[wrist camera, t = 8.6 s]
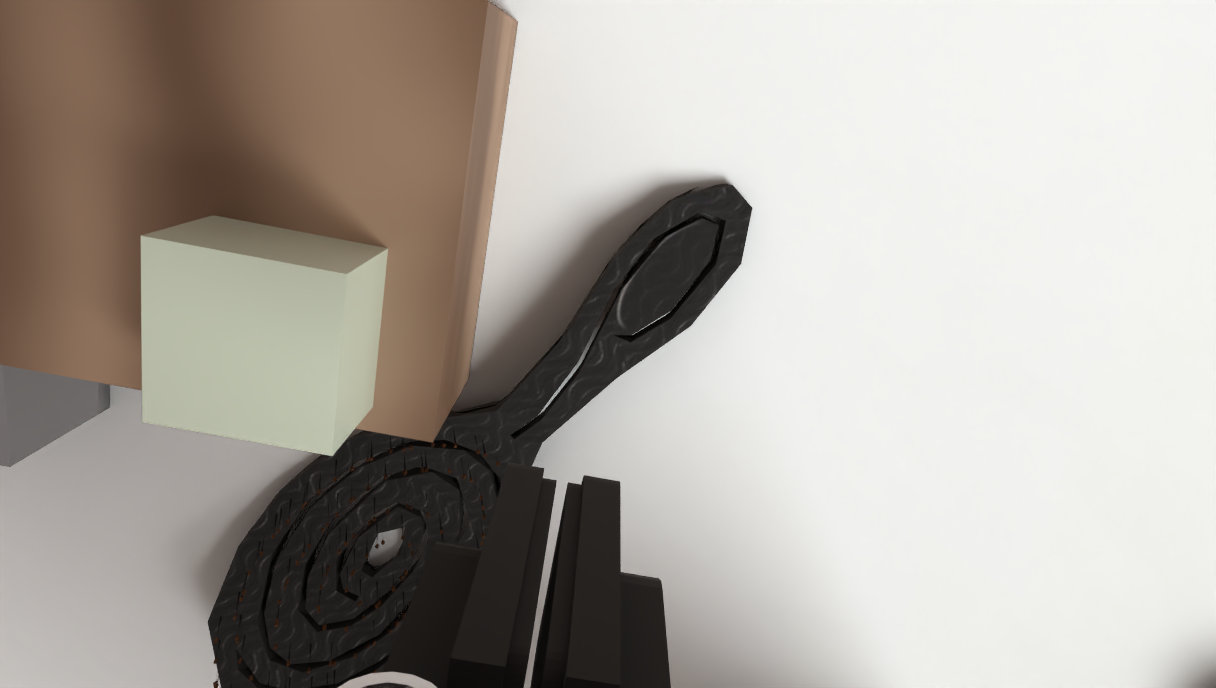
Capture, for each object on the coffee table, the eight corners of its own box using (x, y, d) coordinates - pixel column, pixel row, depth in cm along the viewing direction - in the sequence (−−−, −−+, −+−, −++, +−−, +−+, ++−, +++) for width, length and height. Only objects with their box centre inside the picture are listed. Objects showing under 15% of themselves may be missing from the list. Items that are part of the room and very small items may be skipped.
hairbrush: (850, 299, 22) (323, 791, 27) (816, 276, 26) (355, 714, 30) (652, 94, 21) (128, 655, 25) (644, 99, 24) (186, 591, 29)
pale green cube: (388, 248, 19) (346, 274, 16) (372, 406, 21) (332, 456, 18) (212, 215, 19) (140, 235, 16) (209, 377, 21) (142, 422, 18)
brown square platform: (517, 21, 22) (487, 0, 17) (468, 378, 26) (432, 442, 21) (109, -61, 22) (-35, -105, 17) (116, 314, 25) (-1, 364, 21)
